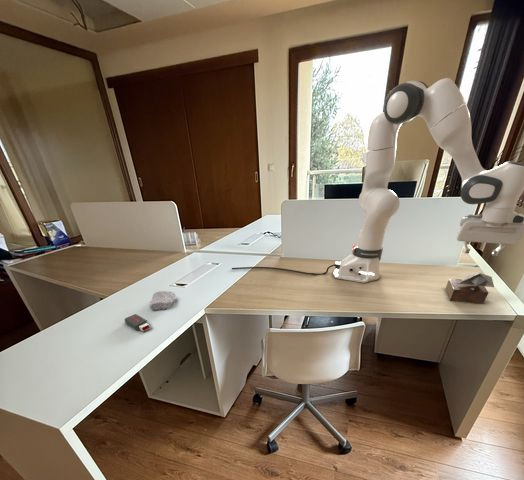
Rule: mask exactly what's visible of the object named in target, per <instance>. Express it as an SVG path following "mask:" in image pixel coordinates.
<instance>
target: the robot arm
mask: <svg viewBox="0 0 524 480" xmlns="http://www.w3.org/2000/svg"><path fill="white" fill-rule="evenodd" d="M418 117H420V118H422V119H423V120H424V122H425V124H426V126H427V128H428V130H429V131H428V132H429V133H430V135H431V136H432V139H433V140H434V142H435V143H436V144H437V146H438V147H439V148H440V149H442V150H443V151H444V152H446V153H448V155H449V156H450V157H451V158H452V160H453V162H454V164H455V166H456V169H457V171H458V173H459V175H460V178H461V185H460V198H461V200H462V201H463V202H464V203H465V204H467V205H472V206H473V205H481V204H485V206H484V208H483V211H482V213H481V214H467V215H465V216H463V217H462V218H461V220H460V223H459V228H458V230H457V232H456V234H455V239H456V241H457V242H463V245H464V250H463V254H466V255H467V254H470V252H471V248H470V247H469V245H470V243H481V244H483V243H485V244H497V245H498V247H497V248H495V249H492V252H491V256H496V257H497V256H498V255H499V252H500V251H502V250H503V249H504V248H505V247H506V245H518V244H519V243H520V242H521V240H522V238H523V236H524V214H522V213H521V212H518V211H515V210H516V208H517V205H518V204H517V203H518V200H519V199H520V197H521V196H522V195H523V192H524V163H523V162H519V161H513V160H511V161H510V160H509V161H506V162H504V163H503V164H500V165H499V166H496V167H494V168H492V169H489V170H487V169H486V168H484V167H483V166H482V163H481V162H480V160H479V157H478V155H477V152H476V150H475V148H474V144H473V139H472V119H471V114H470V111H469V108H468V105H467V102H466V99H465V98H464V96H463V94H462V92H461V90H460V89H459V87H458V85H457V84H456V83H455V82H454V80H453V79H451V78H450V77H445V78H441V79H439V80H437V81H435V82H434V83H433V84H432V85H430V86H428V85H427V83H425V82H423V81H421V80H408V81H406V82H402V83H399V84H398V85H396V86H394V88H393V89H392V90H390V91H389V93H388V94H387V96H386V98H385V101H384V105H383V111H382V112H379V113H378V114H375V116H373V117H372V119H371V120H370V123H369V125H368V130H367V136H366V147H365V169H364V171H365V172H364V178H363V182H362V188H361V192H360V194H359V197H358V205H359V206H360V208H361V209H362V211H364V213H366V216H365V217H366V218H365V219H364V223H363V225H362V227H360V230H359V236H358V242H357V244H353V245H352V252H351V254H349V255H348V256H347V257H345V258H343V259H342V260H341V261H335V263H333V264H331V265H329V266H328V267H327V268H326V271H324V272H323V273H318V272H317V273H316V272H307V271H301V270H295V269H289V268H282V267H272V266H242V267H231V270H241V269H242V270H244V269H247V270H248V269H270V270H271V269H272V270H280V271H287V272H292V273H300V274H302V275H303V274H304V275H311V276H313V275H314V276H321V275H326V274H327V273H328V272H329V269H330V268H333V267H334V271H333V277H334V278H335V279H339V280H345V281H351V282H356V283H357V282H358V283H363V284H365V283H369V282H372V281H376V280H378V279H379V278H380V277H381V275H380V262H381V259H382V256H383V252H384V251H383V245H384V241H385V240H384V239H385V236H386V232H387V228H388V226H389V224H390V221H391V220H392V217H393V216H395V214H396V213H397V212H398V210H399V208H400V197H398V195H397V194H396V193H395V192H394V191H393V190H391V189H388V186H389V182H390V178H391V175H392V173H393V172H394V170H395V163H396V153H397V152H396V151H397V142H398V141H397V139H398V132H399V129H400V127H401V126H402V125H405V124H407V123H409V122H411V121H413V120H415V119H416V118H418Z"/></svg>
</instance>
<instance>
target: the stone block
mask: <svg viewBox="0 0 524 480" xmlns="http://www.w3.org/2000/svg"><path fill="white" fill-rule="evenodd" d="M176 299H177V298H176V294H175V292H173V291H167V290H159V291H155V292H154V293H153V294H152V296H151V300H150V301H149V302H148V303H149V308H150V309H151V310H152V311H160V310H168V309H169V308H170V307H171V306H172V305H173V304H174V303H175V302H176Z"/></svg>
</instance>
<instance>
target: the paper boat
mask: <svg viewBox="0 0 524 480" xmlns="http://www.w3.org/2000/svg"><path fill="white" fill-rule="evenodd" d="M460 284H469V285H475V286H477V285H478V286H485V288H486V287H488V288H495V284H494V281H493V277H492V276H491V275H488V274H485V273H482V272H476V273H471V274H468V275H467V276H466V277H464V278H463V279H462V281H461V282H460ZM471 290H474V288H472V289H471Z"/></svg>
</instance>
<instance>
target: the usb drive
mask: <svg viewBox="0 0 524 480" xmlns="http://www.w3.org/2000/svg"><path fill="white" fill-rule="evenodd" d="M124 323H125V324H126V325H127V326H128V327H130V328H132V329H133V330H135V331H137V332H140V331H141V332H143V333H144V332H146V331H147V330H150V329H151V326H150V324H149V323H148V319H145V318H143V317H142V316H140V315H138V314H136V313H135V314H132V315H130V316H127V317H125V318H124Z"/></svg>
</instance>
